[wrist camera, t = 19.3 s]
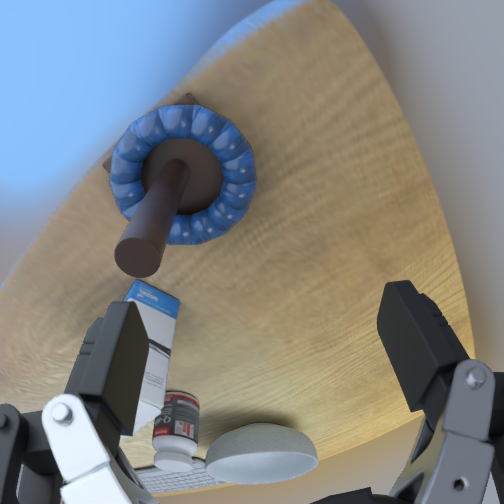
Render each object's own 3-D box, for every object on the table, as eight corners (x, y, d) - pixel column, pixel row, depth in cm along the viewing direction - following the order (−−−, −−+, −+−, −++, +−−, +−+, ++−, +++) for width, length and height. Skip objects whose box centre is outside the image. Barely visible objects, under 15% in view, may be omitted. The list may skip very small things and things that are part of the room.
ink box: (135, 275, 28) (101, 381, 18) (182, 300, 30) (167, 408, 20) (105, 328, 31) (76, 421, 21) (146, 347, 33) (128, 442, 23)
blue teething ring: (194, 72, 18) (190, 72, 16) (282, 187, 23) (287, 199, 21) (90, 164, 21) (78, 174, 19) (177, 258, 26) (174, 274, 24)
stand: (189, 92, 20) (143, 116, 10) (253, 176, 24) (273, 275, 13) (108, 159, 22) (22, 241, 12) (172, 232, 26) (140, 349, 15)
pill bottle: (165, 385, 37) (157, 454, 29) (206, 397, 39) (205, 465, 30) (152, 403, 40) (144, 466, 31) (190, 415, 41) (187, 476, 33)
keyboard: (196, 455, 50) (196, 466, 48) (238, 471, 56) (238, 481, 54) (82, 474, 62) (81, 481, 60) (118, 489, 68) (117, 496, 66)
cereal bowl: (185, 435, 45) (183, 473, 39) (253, 395, 39) (256, 442, 33) (262, 457, 52) (265, 490, 46) (332, 423, 46) (340, 460, 40)
